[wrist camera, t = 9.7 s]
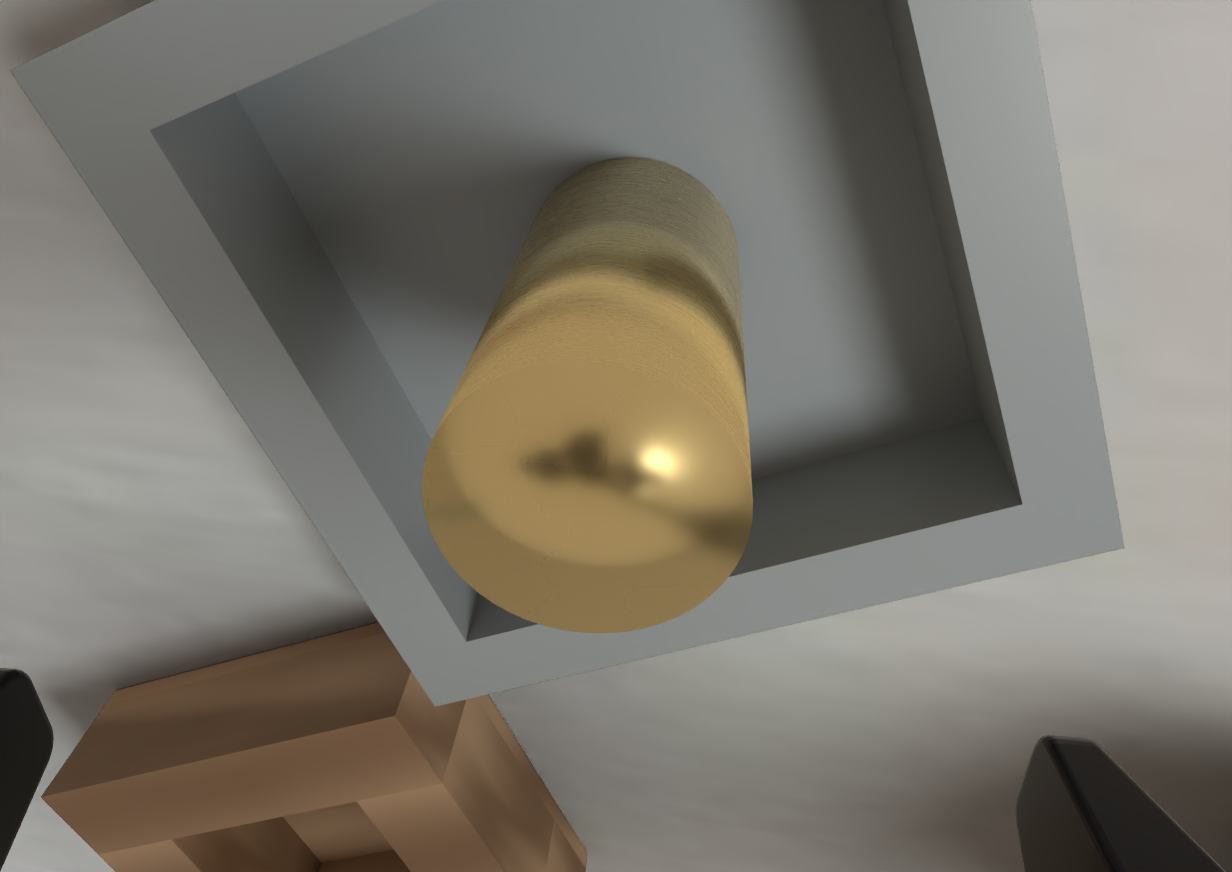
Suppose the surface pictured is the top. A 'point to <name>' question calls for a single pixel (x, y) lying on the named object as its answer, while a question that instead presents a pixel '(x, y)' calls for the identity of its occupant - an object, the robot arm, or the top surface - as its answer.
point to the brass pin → (603, 411)
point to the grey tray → (503, 215)
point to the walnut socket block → (309, 772)
